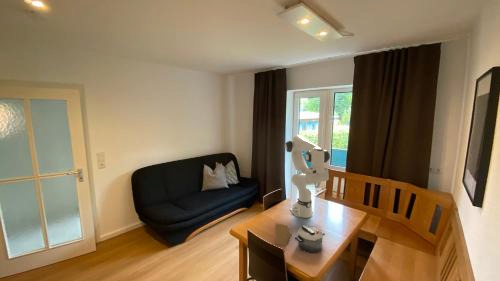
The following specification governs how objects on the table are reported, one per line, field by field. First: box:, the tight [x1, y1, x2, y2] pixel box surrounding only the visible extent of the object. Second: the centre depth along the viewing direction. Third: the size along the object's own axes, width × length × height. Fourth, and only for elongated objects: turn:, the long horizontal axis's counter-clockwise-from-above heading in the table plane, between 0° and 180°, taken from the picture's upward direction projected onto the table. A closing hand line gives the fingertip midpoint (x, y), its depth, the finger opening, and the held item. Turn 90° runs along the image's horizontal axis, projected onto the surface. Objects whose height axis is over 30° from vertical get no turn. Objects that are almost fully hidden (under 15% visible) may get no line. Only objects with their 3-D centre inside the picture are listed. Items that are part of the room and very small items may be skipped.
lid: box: [297, 224, 324, 241], centre depth 145 cm, size 17×17×3 cm
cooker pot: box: [294, 229, 326, 254], centre depth 146 cm, size 16×22×9 cm
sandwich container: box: [274, 223, 293, 247], centre depth 155 cm, size 9×15×15 cm, turn 155°
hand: (317, 187), depth 157 cm, fingers closed
